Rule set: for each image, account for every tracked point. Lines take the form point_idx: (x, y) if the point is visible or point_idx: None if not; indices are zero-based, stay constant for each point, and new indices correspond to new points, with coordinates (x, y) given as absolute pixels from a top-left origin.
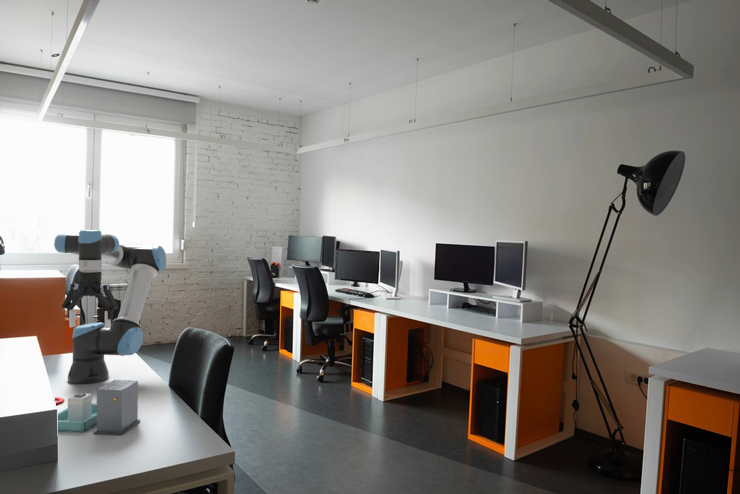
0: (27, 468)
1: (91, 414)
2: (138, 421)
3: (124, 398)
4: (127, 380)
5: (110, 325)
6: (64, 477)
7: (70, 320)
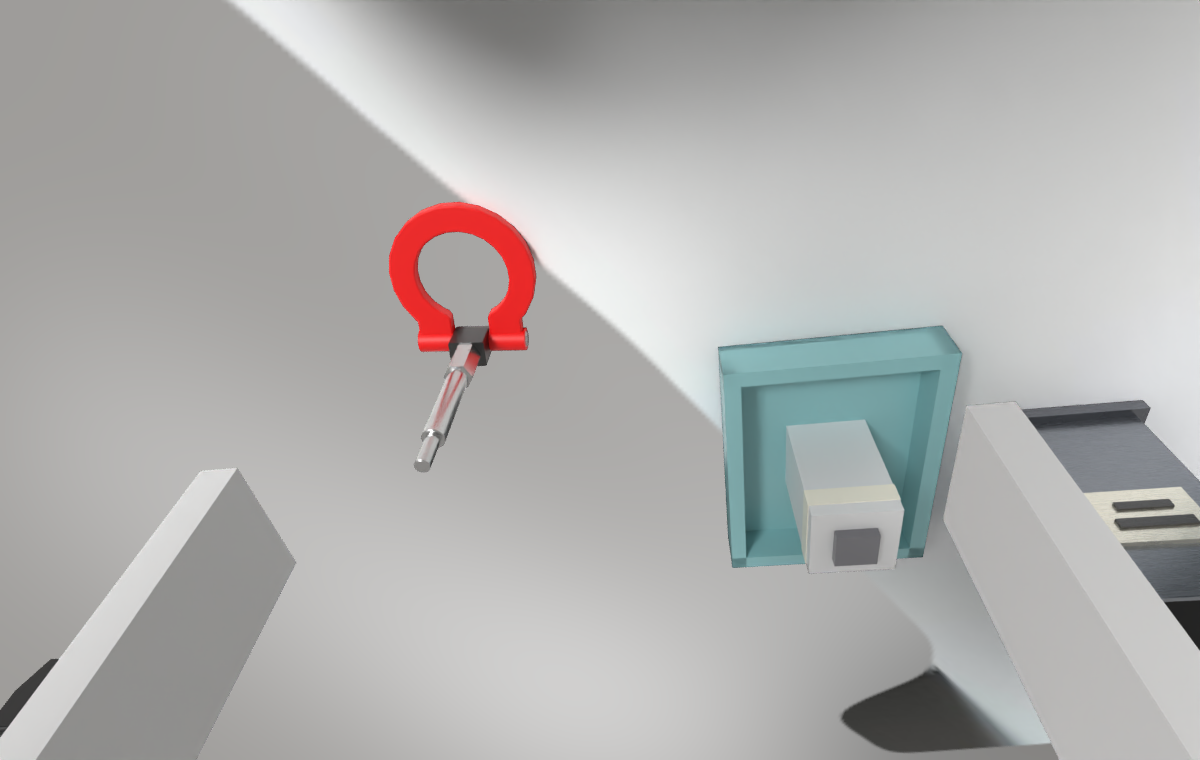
0: (876, 703)
1: (869, 431)
2: (1142, 419)
3: None
4: None
5: (1035, 438)
6: (1011, 719)
7: (222, 683)
